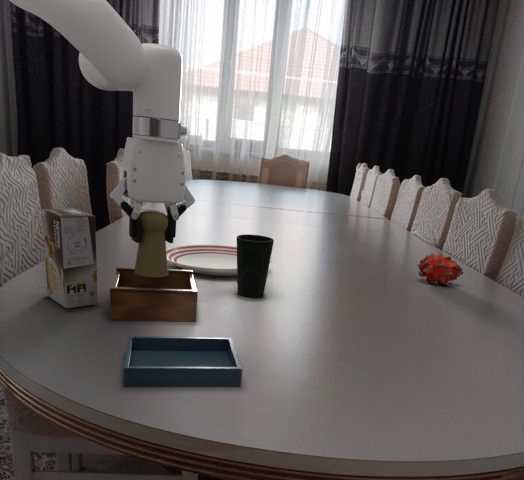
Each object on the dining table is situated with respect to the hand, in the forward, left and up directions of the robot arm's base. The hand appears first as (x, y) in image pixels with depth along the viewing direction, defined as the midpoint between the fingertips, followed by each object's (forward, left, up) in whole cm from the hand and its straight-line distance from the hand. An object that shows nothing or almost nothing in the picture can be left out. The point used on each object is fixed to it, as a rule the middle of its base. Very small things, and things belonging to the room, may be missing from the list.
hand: (152, 240), depth 92 cm
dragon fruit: (+74, +28, -13) cm, 80 cm away
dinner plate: (+16, +34, -13) cm, 40 cm away
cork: (0, 0, -6) cm, 6 cm away
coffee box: (-14, +3, -13) cm, 19 cm away
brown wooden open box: (+1, 0, -13) cm, 13 cm away
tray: (+5, -27, -13) cm, 30 cm away
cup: (+21, +11, -13) cm, 27 cm away
